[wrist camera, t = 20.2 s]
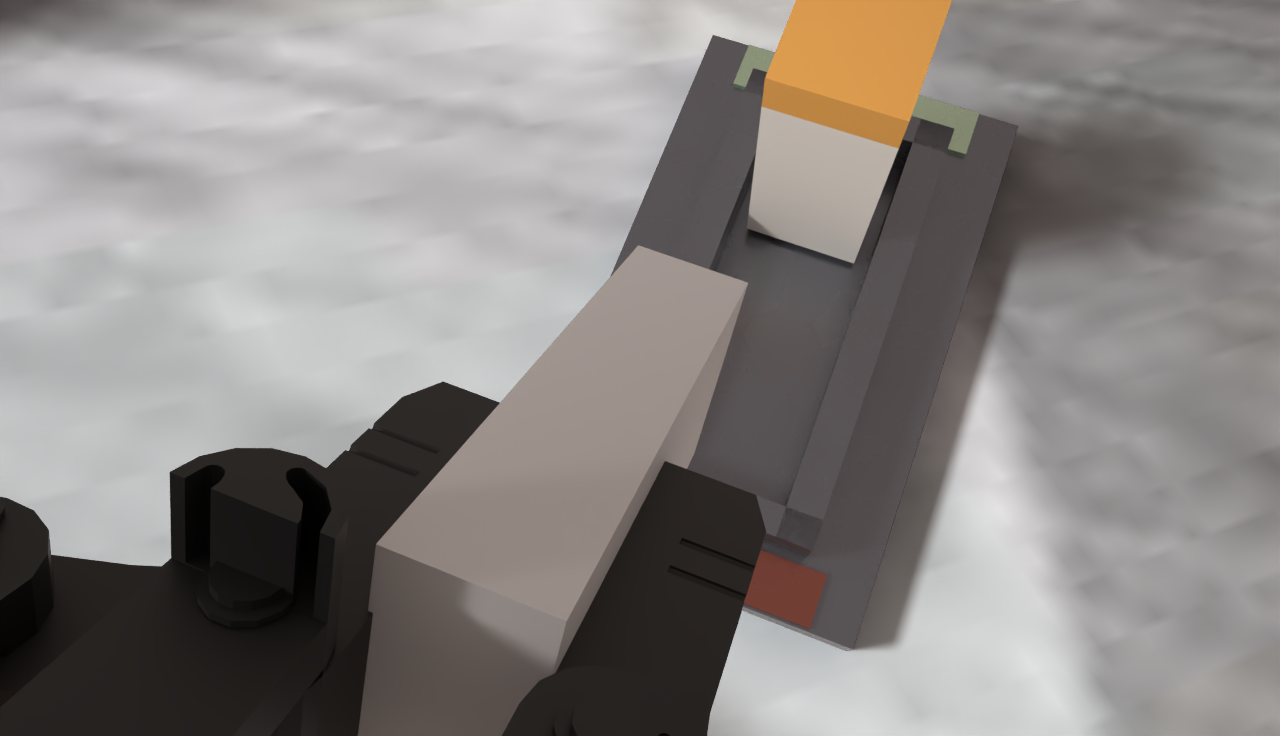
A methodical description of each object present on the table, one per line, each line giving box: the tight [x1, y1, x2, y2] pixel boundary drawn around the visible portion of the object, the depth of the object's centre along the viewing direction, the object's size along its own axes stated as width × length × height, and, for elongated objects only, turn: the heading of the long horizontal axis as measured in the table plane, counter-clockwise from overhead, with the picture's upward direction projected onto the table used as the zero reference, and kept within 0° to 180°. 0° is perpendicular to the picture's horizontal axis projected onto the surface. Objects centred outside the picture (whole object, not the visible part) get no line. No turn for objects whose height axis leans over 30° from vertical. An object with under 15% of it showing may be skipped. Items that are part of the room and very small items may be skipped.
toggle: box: [747, 0, 952, 263], centre depth 31 cm, size 4×4×9 cm
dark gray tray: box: [611, 35, 1018, 651], centre depth 35 cm, size 20×12×4 cm, turn 159°
